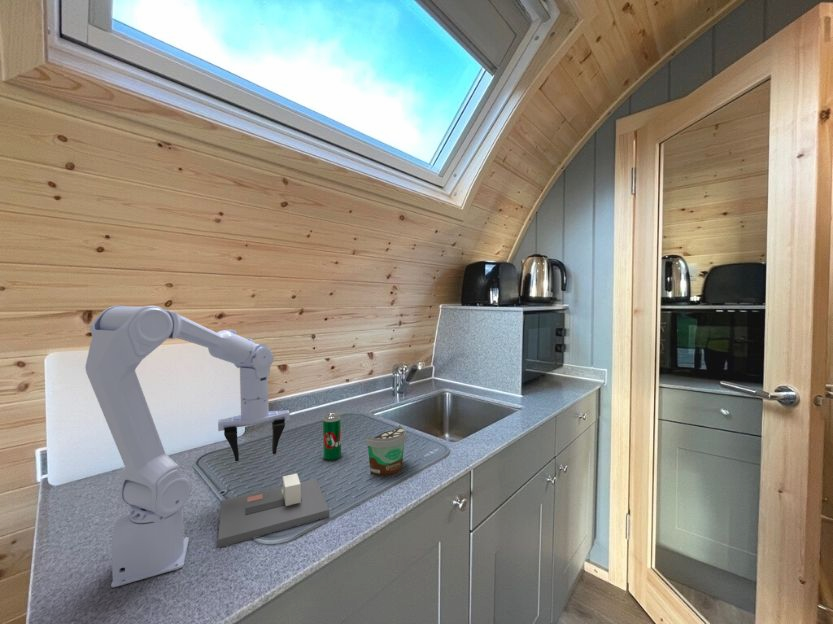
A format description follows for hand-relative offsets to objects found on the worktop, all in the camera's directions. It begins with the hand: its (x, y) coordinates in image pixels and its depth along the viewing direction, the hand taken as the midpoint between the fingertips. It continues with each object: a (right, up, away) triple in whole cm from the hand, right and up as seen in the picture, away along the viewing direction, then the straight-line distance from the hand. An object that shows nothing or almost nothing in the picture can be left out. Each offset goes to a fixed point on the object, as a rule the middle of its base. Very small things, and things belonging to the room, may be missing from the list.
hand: (256, 455), depth 80 cm
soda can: (+13, -9, +20) cm, 25 cm away
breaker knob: (+9, -8, -4) cm, 13 cm away
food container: (+30, -9, +12) cm, 34 cm away
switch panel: (+6, -10, -5) cm, 13 cm away
